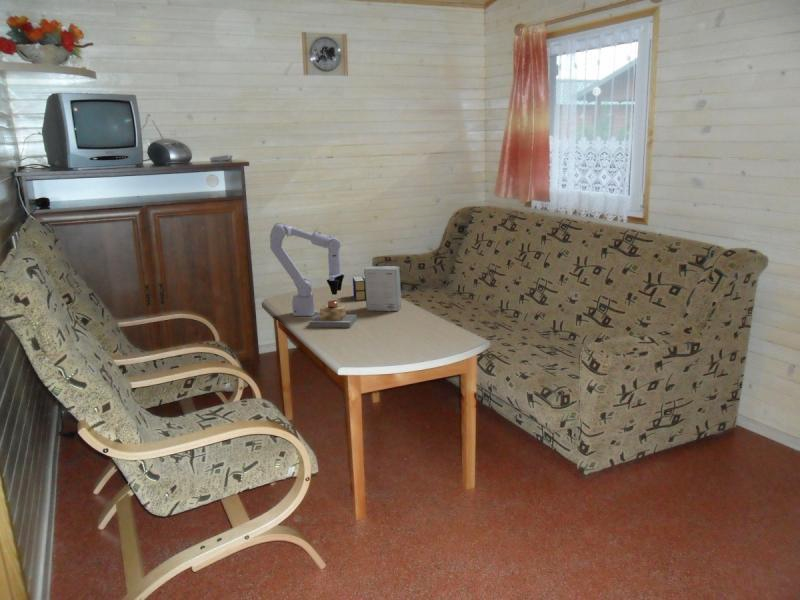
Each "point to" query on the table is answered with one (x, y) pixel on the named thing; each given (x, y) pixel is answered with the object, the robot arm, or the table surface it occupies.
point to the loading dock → (333, 322)
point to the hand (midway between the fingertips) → (336, 292)
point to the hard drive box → (382, 288)
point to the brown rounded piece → (332, 304)
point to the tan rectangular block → (332, 313)
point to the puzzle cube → (359, 288)
